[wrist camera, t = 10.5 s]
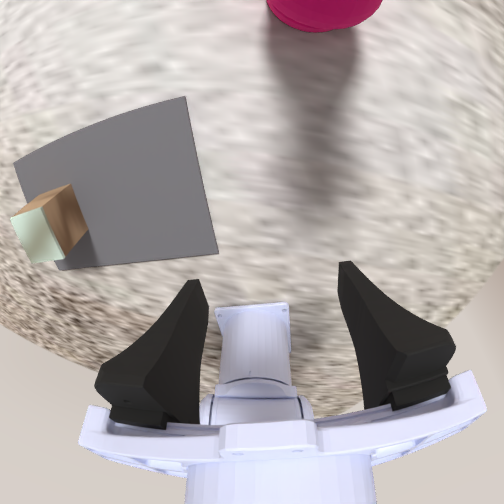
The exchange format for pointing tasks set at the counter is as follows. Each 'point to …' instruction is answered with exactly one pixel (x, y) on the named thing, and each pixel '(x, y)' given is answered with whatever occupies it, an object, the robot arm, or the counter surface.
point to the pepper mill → (323, 13)
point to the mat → (129, 187)
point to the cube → (50, 225)
